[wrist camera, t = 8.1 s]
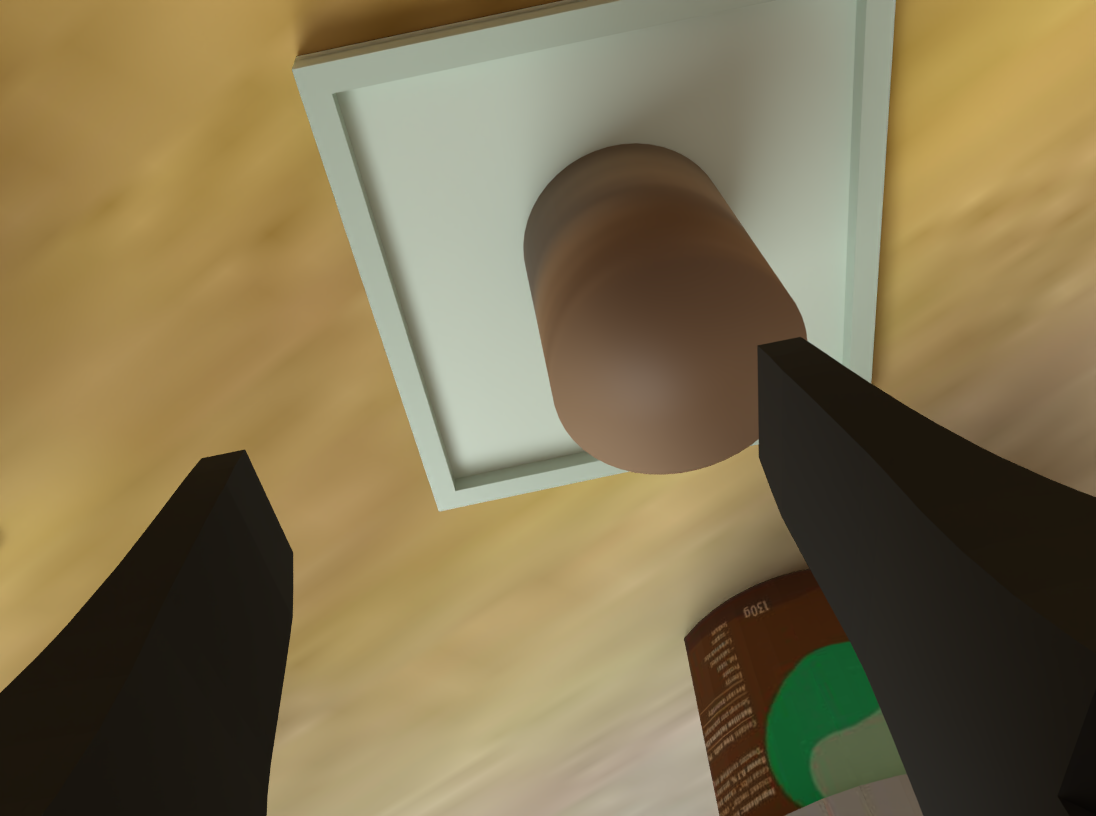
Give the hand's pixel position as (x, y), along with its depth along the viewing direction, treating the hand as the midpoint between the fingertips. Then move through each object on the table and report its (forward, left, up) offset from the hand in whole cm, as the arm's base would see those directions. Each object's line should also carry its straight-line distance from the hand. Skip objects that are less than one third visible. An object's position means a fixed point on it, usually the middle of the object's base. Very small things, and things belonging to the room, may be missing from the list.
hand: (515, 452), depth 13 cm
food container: (+9, -17, -10) cm, 22 cm away
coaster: (+3, -2, -10) cm, 10 cm away
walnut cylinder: (+3, -2, -9) cm, 10 cm away
